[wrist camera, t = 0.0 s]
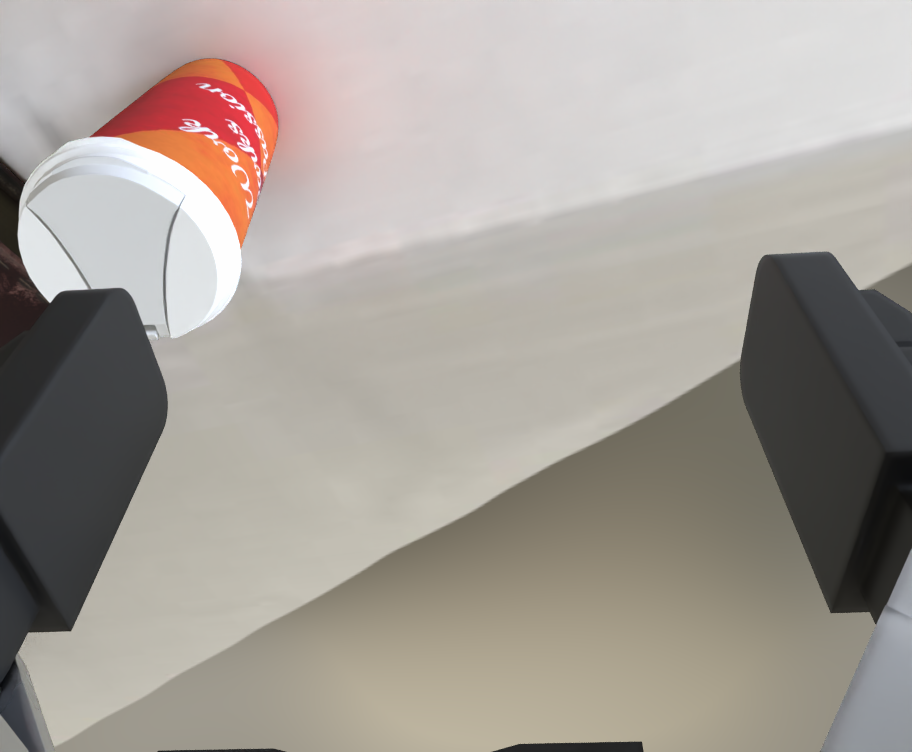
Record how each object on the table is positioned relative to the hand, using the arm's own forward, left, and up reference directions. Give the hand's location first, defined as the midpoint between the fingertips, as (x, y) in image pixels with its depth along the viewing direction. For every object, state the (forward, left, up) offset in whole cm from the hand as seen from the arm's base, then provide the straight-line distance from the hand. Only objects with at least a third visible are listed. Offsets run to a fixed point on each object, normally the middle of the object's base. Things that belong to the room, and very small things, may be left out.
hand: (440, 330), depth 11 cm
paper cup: (+7, -12, -30) cm, 33 cm away
